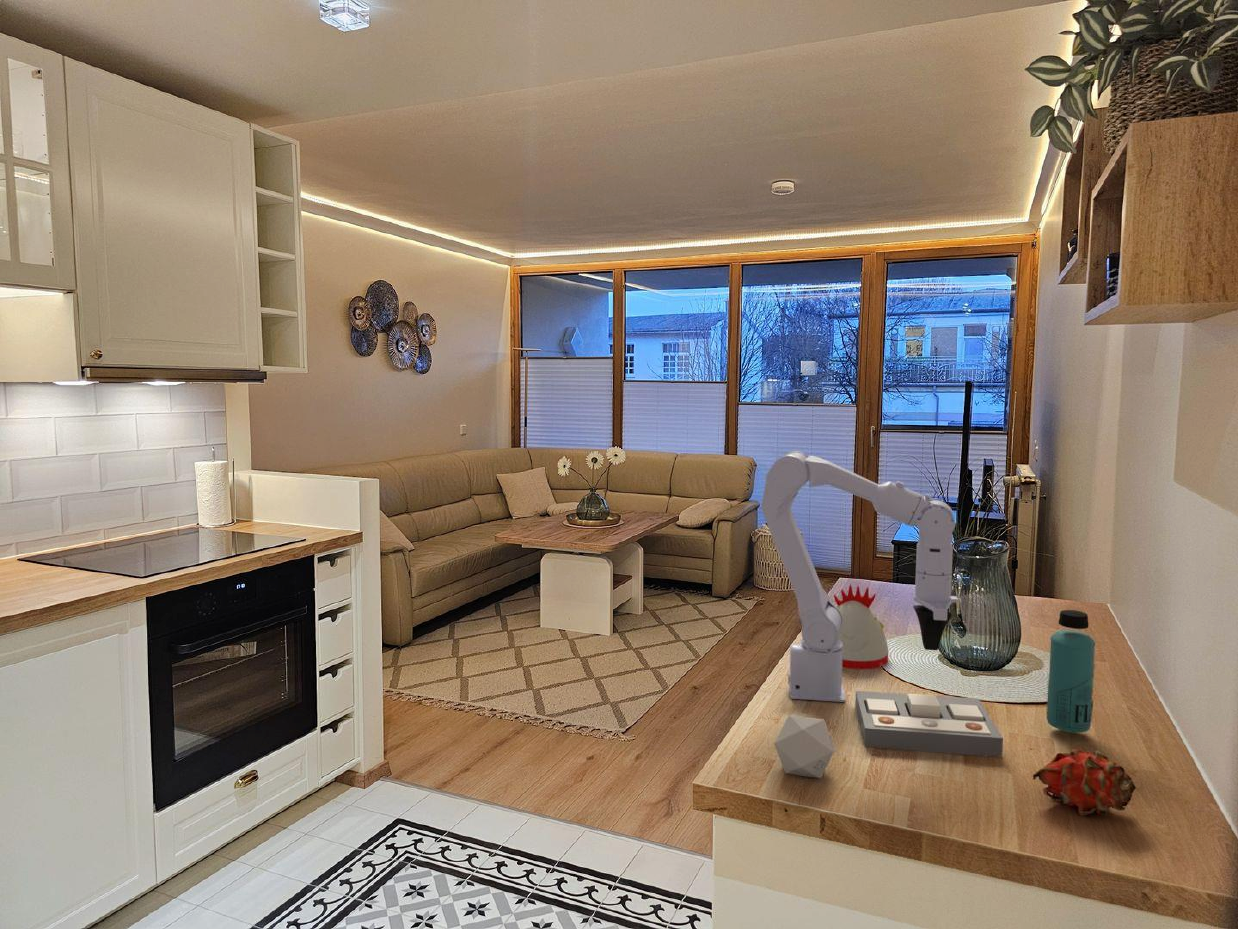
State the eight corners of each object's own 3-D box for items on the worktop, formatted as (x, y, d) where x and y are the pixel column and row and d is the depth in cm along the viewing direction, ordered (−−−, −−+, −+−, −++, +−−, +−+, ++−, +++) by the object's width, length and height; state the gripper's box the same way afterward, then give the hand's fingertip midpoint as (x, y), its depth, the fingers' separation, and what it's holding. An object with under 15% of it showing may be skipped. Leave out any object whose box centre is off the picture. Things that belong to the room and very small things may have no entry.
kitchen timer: (886, 673, 158) (888, 597, 156) (813, 664, 162) (815, 591, 160) (888, 649, 170) (891, 579, 169) (821, 642, 175) (823, 574, 173)
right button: (953, 727, 130) (954, 715, 130) (947, 715, 134) (948, 703, 134) (982, 729, 129) (983, 717, 129) (976, 717, 134) (976, 705, 133)
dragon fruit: (1142, 834, 105) (1038, 826, 111) (1130, 772, 111) (1032, 767, 116) (1143, 801, 100) (1034, 794, 106) (1130, 739, 106) (1028, 735, 112)
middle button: (911, 716, 131) (911, 704, 131) (906, 705, 135) (907, 693, 135) (940, 718, 130) (940, 706, 130) (934, 707, 135) (935, 695, 134)
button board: (864, 746, 127) (865, 726, 126) (855, 707, 141) (855, 688, 141) (1002, 757, 123) (1003, 736, 123) (977, 715, 138) (978, 696, 137)
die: (807, 797, 113) (847, 741, 113) (756, 755, 117) (796, 700, 117) (813, 790, 121) (851, 737, 121) (765, 751, 124) (802, 699, 124)
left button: (869, 721, 132) (869, 709, 132) (866, 710, 137) (866, 698, 137) (897, 723, 132) (897, 711, 131) (893, 711, 136) (893, 700, 136)
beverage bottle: (1074, 745, 127) (1081, 620, 124) (1035, 729, 132) (1041, 609, 130) (1100, 736, 130) (1108, 614, 127) (1060, 721, 135) (1067, 604, 133)
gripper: (968, 583, 131) (964, 665, 132) (949, 562, 145) (946, 636, 147) (922, 581, 132) (919, 662, 134) (908, 561, 146) (905, 634, 148)
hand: (930, 648), depth 140 cm, fingers closed
